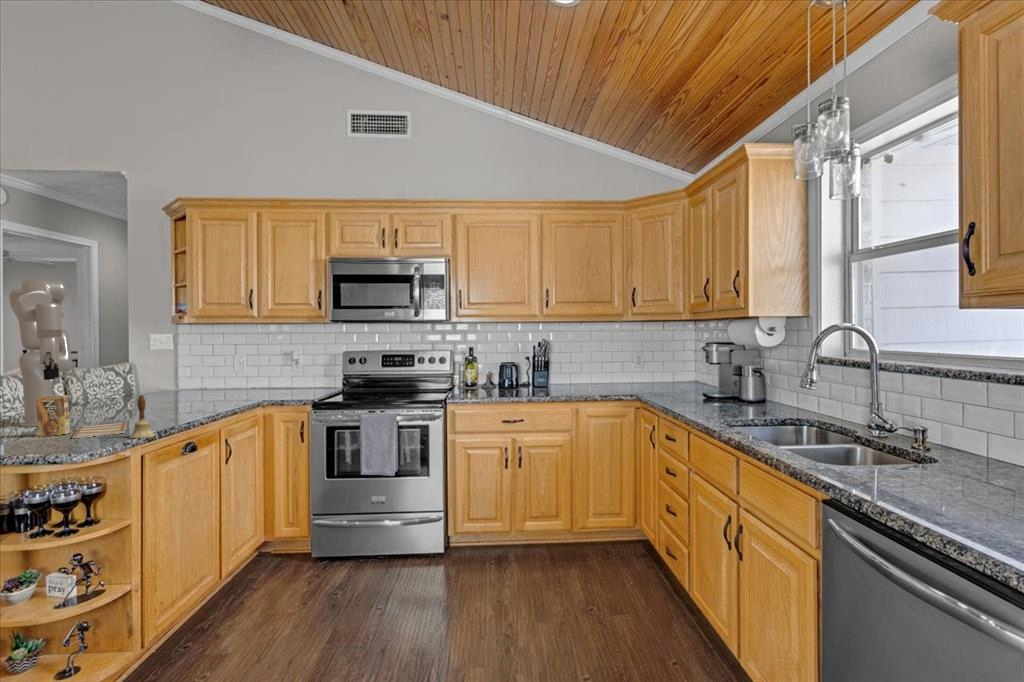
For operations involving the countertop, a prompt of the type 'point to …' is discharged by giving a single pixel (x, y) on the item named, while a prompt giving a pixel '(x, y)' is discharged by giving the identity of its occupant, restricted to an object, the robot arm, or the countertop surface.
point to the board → (100, 430)
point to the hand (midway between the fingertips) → (51, 378)
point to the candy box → (53, 415)
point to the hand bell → (142, 422)
